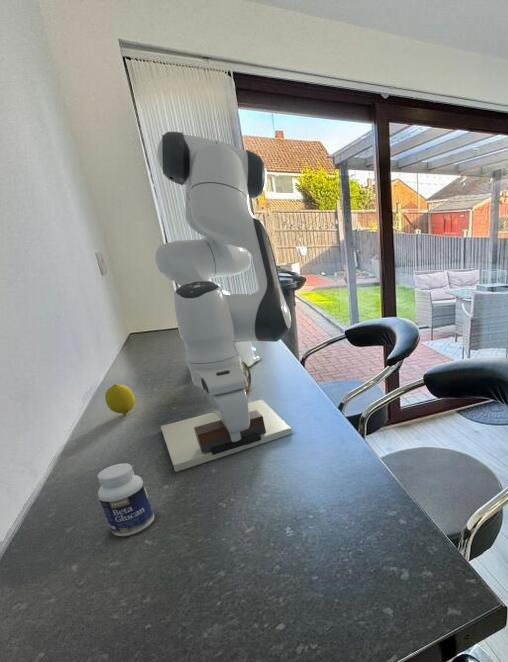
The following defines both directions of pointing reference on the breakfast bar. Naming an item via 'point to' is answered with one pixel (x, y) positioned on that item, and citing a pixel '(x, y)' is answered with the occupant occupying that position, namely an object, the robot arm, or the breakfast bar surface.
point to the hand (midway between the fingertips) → (232, 434)
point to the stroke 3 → (252, 439)
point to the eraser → (226, 432)
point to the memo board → (183, 433)
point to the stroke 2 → (236, 444)
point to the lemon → (119, 399)
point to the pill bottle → (124, 500)
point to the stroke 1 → (219, 448)
